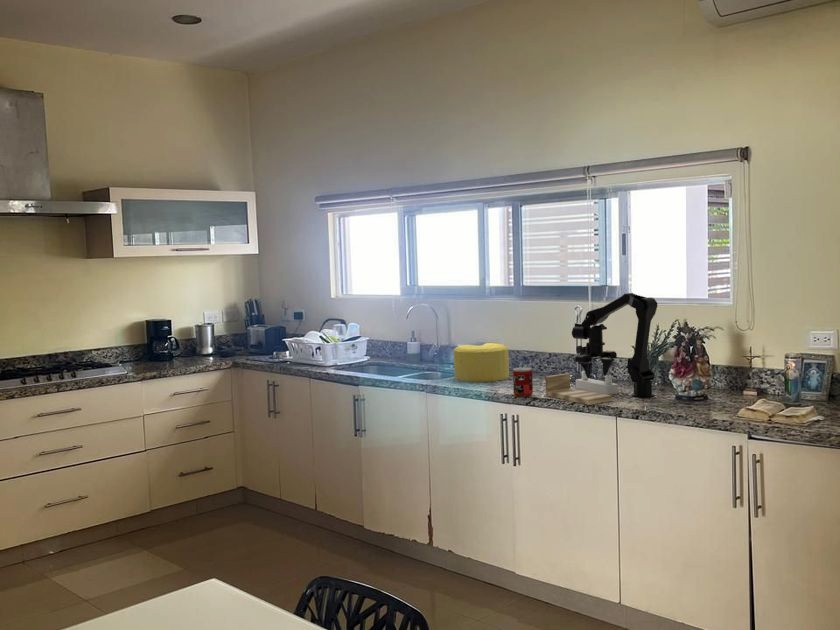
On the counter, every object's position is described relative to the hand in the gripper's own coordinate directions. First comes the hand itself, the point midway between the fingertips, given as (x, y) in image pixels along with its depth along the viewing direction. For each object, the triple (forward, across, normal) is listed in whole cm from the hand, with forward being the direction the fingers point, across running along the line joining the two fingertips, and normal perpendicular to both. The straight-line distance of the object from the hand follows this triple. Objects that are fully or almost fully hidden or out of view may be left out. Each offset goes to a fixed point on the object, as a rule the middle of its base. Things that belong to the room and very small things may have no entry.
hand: (596, 377), depth 331 cm
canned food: (+6, +28, -14) cm, 32 cm away
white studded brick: (+6, 0, 0) cm, 6 cm away
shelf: (+6, +17, +8) cm, 20 cm away
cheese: (+6, +14, -63) cm, 65 cm away
